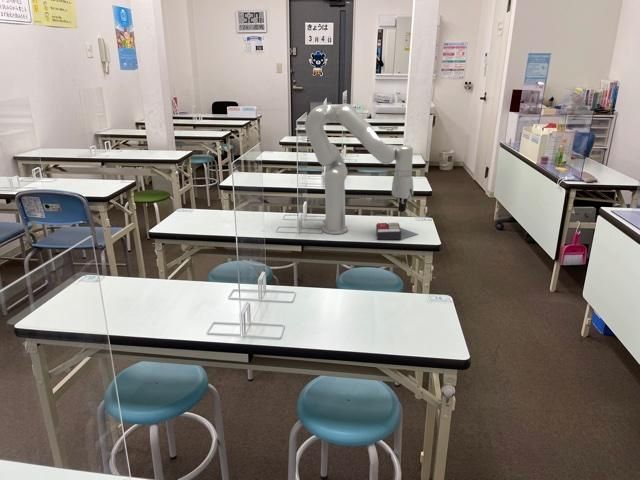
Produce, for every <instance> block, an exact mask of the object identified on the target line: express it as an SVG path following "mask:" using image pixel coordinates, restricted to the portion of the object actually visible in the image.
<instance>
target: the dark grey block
mask: <svg viewBox="0 0 640 480" xmlns="http://www.w3.org/2000/svg"><path fill="white" fill-rule="evenodd" d="M400 228H401V226H400V223H398V222H388V223H387V222H378V223H377V224H376V229H375V230H376V240H378V241H379V240H381V241H382V240H384V241H386V240H401V230H400Z"/></svg>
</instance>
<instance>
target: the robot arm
mask: <svg viewBox="0 0 640 480" xmlns="http://www.w3.org/2000/svg"><path fill="white" fill-rule="evenodd" d="M331 123H333V124H334V123H335V124H337V123H339V124H340V125H341V126H343V127H344V128H345V129H346V130H347V131H348V132H349V133H350V134H351V135H352V136H353V137H355V138H356V139H357V140H358V142H360V144H361V145H362V146H363V147H364V148H365V149H366V150H367V152H368V153H369V154H371V155H372V156H373V157H374V159H376V160H377V161H378V162H379V163H381V164H383V165H389V164H391V163H393V162H394V161H395V168H394V172H395V173H394V175H393V178H392V183H391V184H392V185H391V195H392V196H393V197H394V198H395V199H396V200H397V204H398V212H400V213H404V212H406V210H407V203H408V202H412V199H413V198H412V197H414V179H413V178H414V177H413V176H412V175H413V157H414V155H413V154H414V151H413V150H414V149H413V147H412V145H407V144H405V145H403V144H402V145H396V144H395V145H394V144H386V143H385V142H384V141H383V140H382V139H381V138H380V137H379V136H378V135H377V133H376V131H375V130H374V128H373V126H372V125H371V124H370V123H369V122H368V121H367V120H366V119H365V118H363V117H362V116H361V115H360V114H359V113H358V112H357V108H356V107H355V106H354V105H352V104H351V103H343V104H341V103H339V104H320V105H318V106H316V107H314V108H313V109H312V110H311V111H310V112H309V113H308V114H307V116H306V118H305V121H304V129H305V133H306V136H307V139H308V141H309V143H310V146H311V148H312V150H313V153H314V155H315V157H316V161H317V162H318V163H319V164H320V165H321V166H324V167H325V170H326V171H325V174H324V177H323V183H324V193H325V195H324V196H325V198H324V200H325V201H324V202H325V204H324V205H325V219H323V220H322V223H324V226H323V227H322V231H323V233H326V234H330V235H340V234H341V235H342V234H345V233H347V232H349V226H347V225H346V187H345V182H346V179H347V177H348V168H347V166H346V163H345V161H344V158H343V156H342V153H341V152H340V150H339V148H338V146H336V144H334V143H332V142H330V140H329V137H328V135H327V133H326V131H325V129H324V125H326V124H331Z"/></svg>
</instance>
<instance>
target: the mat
mask: <svg viewBox="0 0 640 480" xmlns="http://www.w3.org/2000/svg"><path fill="white" fill-rule="evenodd" d="M400 230H401V239H400V240H401V241H402V240H406V239H407V238H411V237H414V236H418V235H419V233H416V232H414V231H411V230H408V229H406V228H403V227H400Z"/></svg>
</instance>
